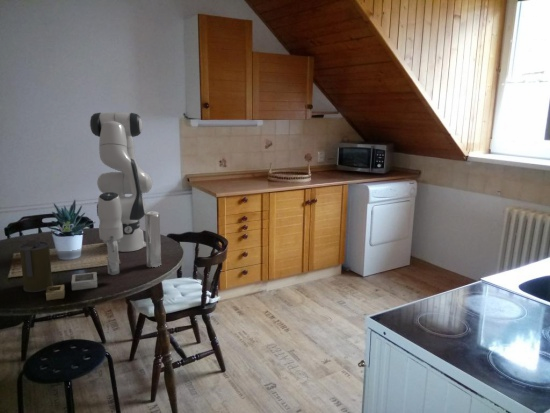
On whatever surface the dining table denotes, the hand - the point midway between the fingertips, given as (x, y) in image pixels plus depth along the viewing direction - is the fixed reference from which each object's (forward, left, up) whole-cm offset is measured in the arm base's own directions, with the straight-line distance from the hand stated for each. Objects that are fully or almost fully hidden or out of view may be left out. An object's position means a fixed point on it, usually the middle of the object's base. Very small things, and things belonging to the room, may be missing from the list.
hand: (113, 265), depth 174 cm
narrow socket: (+7, -21, -7) cm, 23 cm away
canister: (-4, -28, -8) cm, 30 cm away
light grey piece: (-14, +18, -8) cm, 24 cm away
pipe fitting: (0, 0, -3) cm, 3 cm away
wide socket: (-1, -11, -7) cm, 13 cm away
